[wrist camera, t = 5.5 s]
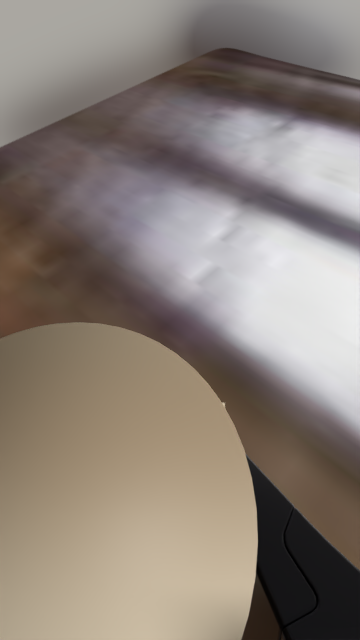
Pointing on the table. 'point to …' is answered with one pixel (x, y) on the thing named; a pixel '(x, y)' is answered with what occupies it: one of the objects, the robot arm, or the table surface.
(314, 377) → the table surface
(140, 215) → the table surface
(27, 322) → the table surface
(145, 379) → the stamp
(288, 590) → the robot arm
